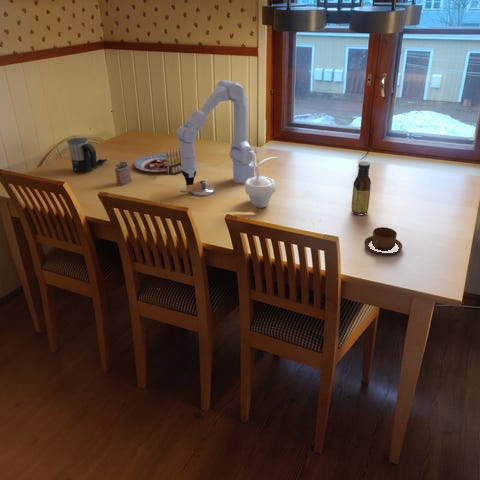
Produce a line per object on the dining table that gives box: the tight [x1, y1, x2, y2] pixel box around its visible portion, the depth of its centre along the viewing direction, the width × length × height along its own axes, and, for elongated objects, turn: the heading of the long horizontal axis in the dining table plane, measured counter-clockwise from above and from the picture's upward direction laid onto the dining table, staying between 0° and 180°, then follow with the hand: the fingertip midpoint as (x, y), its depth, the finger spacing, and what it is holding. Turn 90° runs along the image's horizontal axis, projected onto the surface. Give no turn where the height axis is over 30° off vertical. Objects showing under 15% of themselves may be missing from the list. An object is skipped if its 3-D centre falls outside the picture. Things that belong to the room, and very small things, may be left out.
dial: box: [185, 180, 216, 197], centre depth 199 cm, size 12×10×4 cm
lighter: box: [114, 160, 133, 187], centre depth 210 cm, size 8×3×10 cm, turn 149°
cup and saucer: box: [364, 226, 403, 256], centre depth 156 cm, size 12×12×6 cm
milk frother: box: [66, 137, 108, 174], centre depth 227 cm, size 14×16×15 cm
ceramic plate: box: [134, 153, 170, 173], centre depth 232 cm, size 26×26×3 cm
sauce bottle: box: [350, 161, 372, 215], centre depth 177 cm, size 6×6×20 cm
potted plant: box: [244, 147, 279, 209], centre depth 184 cm, size 13×12×25 cm
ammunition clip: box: [166, 146, 183, 176], centre depth 220 cm, size 11×2×12 cm, turn 136°
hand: (190, 187), depth 198 cm, fingers closed, pressing on dial
